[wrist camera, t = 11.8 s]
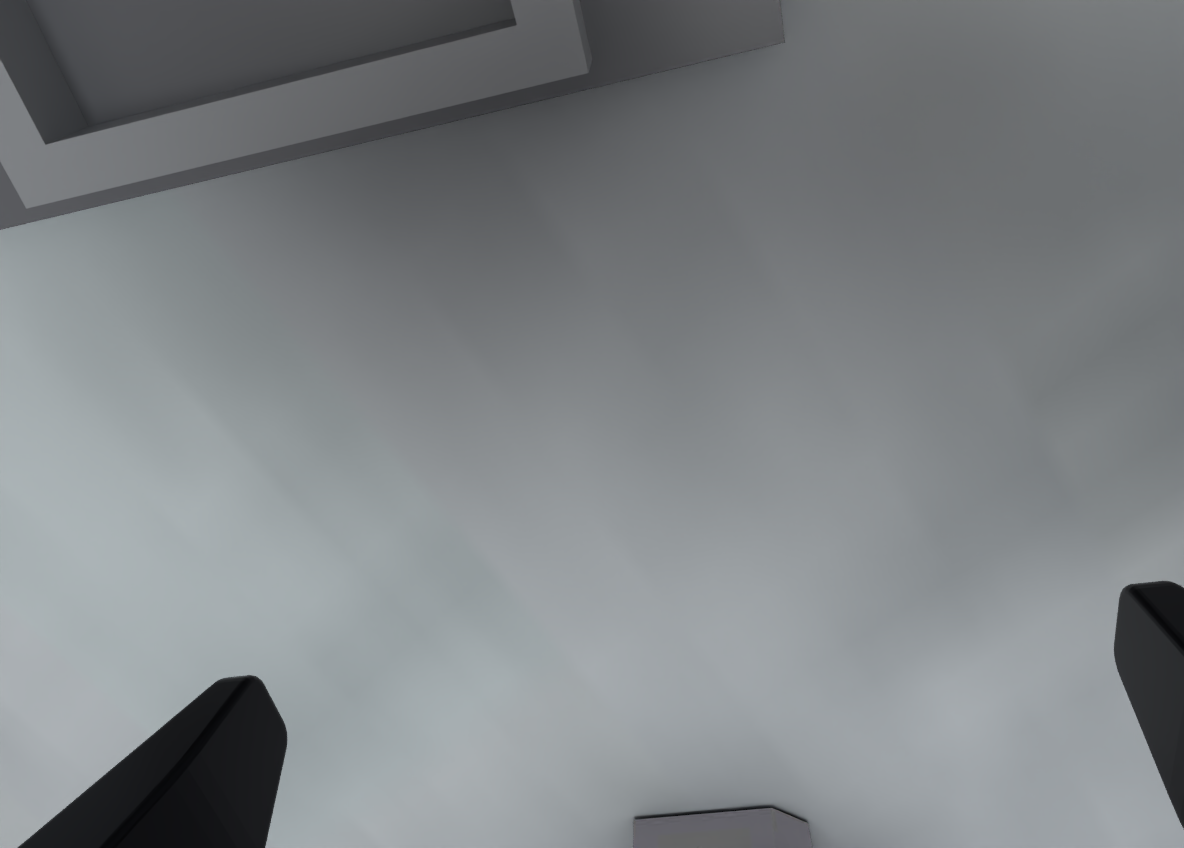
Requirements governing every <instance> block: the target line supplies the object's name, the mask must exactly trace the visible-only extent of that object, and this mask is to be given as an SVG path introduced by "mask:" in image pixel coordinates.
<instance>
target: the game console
mask: <svg viewBox="0 0 1184 848" xmlns="http://www.w3.org/2000/svg"><path fill="white" fill-rule="evenodd" d="M633 848H812V842H811V837H810V831H809V826H808V823H806V822H804V821H802V820H799V819H797V818H794V817H792V816H790V815H787V814H785V813H783V812H780V811H778V810H776V809H773V808H764V809H753V810H741V811H730V812H718V813H707V814H695V815H684V816H672V817H660V818H649V819H637V820H634V840H633Z"/></svg>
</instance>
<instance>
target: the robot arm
mask: <svg viewBox="0 0 1184 848" xmlns="http://www.w3.org/2000/svg"><path fill="white" fill-rule="evenodd" d="M1114 656H1115V662H1116V666H1117V669H1118V672H1119V675H1120V677H1121V680H1122V682H1123V685H1124V687H1125V690H1126V692H1127V695H1128V697H1129V700H1130V702H1131V704H1132V707H1133V709H1134V712H1135V714H1136V717H1137V719H1138V722H1139V724H1140V727H1141V729H1142V731H1143V734H1144V736H1145V739H1146V741H1147V744H1148V746H1149V749H1150V751H1151V754H1152V756H1153V759H1154V761H1155V763H1156V766H1157V768H1158V771H1159V773H1160V776H1161V778H1162V781H1163V783H1164V786H1165V788H1166V790H1167V793H1168V795H1169V798H1170V800H1171V802H1172V805H1173V807H1174V809H1175V811H1176V814H1177V816H1178V818H1179V821H1180V823H1181V825H1182V826H1183V828H1184V588H1183V587H1182V586H1180V585H1178V584H1176V583H1173V582H1170V581H1158V582H1148V583H1138V584H1130V585H1128V586H1126V587H1124V588H1123V590H1122V592H1121V594H1120V598H1119V606H1118V615H1117V624H1116V633H1115V642H1114ZM286 748H287V731H286V727H285V724H284V721H283V719H282V717H281V716H280V714H279V712H278V710H277V708H276V706H275V704H274V702H273V700H272V698H271V697H270V695H269V693H268V691H267V689H266V687H265V685H264V683H263V682H262V680H260V679H259V678H258V677H256V676H252V675H247V676H237V677H228V678H223V679H220V680H218V681H217V682H215V683H214V684H213V685H211V686H210V687H209V688H208V689H207V690H205V691H204V692H203V693H202V694H201V695H200V696H198V697H197V698H196V699H195V700H194V701H192V702H191V703H190V704H189V705H188V706H186V707H185V708H184V709H183V710H182V711H180V712H179V713H178V714H177V715H176V716H174V717H173V718H172V719H171V720H170V721H168V722H167V723H166V724H165V725H164V726H163V727H161V728H160V729H159V730H158V731H157V732H155V733H154V734H153V735H152V736H151V737H149V738H148V739H147V740H146V741H145V742H143V743H142V744H141V745H140V746H139V747H137V748H136V749H135V750H134V751H133V752H131V753H130V754H129V755H128V756H127V757H125V758H124V759H123V760H122V761H121V762H119V763H118V764H117V765H116V766H115V767H114V768H112V769H111V770H110V771H109V772H108V773H106V774H105V775H104V776H103V777H102V778H100V779H99V780H98V781H97V782H96V783H94V784H93V785H92V786H91V787H90V788H88V789H87V790H86V791H85V792H84V793H82V794H81V795H80V796H79V797H78V798H76V799H75V800H74V801H73V802H72V803H70V804H69V805H68V806H67V807H66V808H65V809H63V810H62V811H61V812H60V813H59V814H57V815H56V816H55V817H54V818H53V819H51V820H50V821H49V822H48V823H47V824H45V825H44V826H43V827H42V828H41V829H39V830H38V831H37V832H36V833H35V834H33V835H32V836H31V837H30V838H29V839H27V840H26V841H25V842H24V843H23V844H21V845H20V846H19V847H18V848H265V846H266V841H267V837H268V832H269V827H270V823H271V818H272V813H273V809H274V804H275V799H276V795H277V790H278V785H279V781H280V776H281V771H282V767H283V762H284V757H285V753H286Z"/></svg>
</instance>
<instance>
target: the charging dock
mask: <svg viewBox="0 0 1184 848" xmlns="http://www.w3.org/2000/svg"><path fill="white" fill-rule="evenodd" d="M784 42H785V40H784V31H783V23H782V15H781V6H780V0H0V230H1V229H5V228H9V227H13V226H18V225H22V224H26V223H30V222H34V221H38V220H43V219H47V218H51V217H55V216H59V215H64V214H68V213H72V212H76V211H80V210H85V209H89V208H93V207H97V206H101V205H106V204H110V203H114V202H118V201H122V200H126V199H131V198H135V197H139V196H143V195H147V194H152V193H156V192H160V191H164V190H168V189H173V188H177V187H181V186H185V185H189V184H194V183H198V182H202V181H206V180H210V179H214V178H219V177H223V176H227V175H231V174H235V173H240V172H244V171H248V170H252V169H256V168H261V167H265V166H269V165H273V164H277V163H282V162H286V161H290V160H294V159H298V158H302V157H307V156H311V155H315V154H319V153H323V152H328V151H332V150H336V149H340V148H344V147H349V146H353V145H357V144H361V143H365V142H370V141H374V140H378V139H382V138H386V137H390V136H395V135H399V134H403V133H407V132H411V131H416V130H420V129H424V128H428V127H432V126H437V125H441V124H445V123H449V122H453V121H458V120H462V119H466V118H470V117H474V116H478V115H483V114H487V113H491V112H495V111H499V110H504V109H508V108H512V107H516V106H520V105H525V104H529V103H533V102H537V101H541V100H546V99H550V98H554V97H558V96H562V95H566V94H571V93H575V92H579V91H583V90H587V89H592V88H596V87H600V86H604V85H608V84H613V83H617V82H621V81H625V80H629V79H634V78H638V77H642V76H646V75H650V74H654V73H659V72H663V71H667V70H671V69H675V68H680V67H684V66H688V65H692V64H696V63H701V62H705V61H709V60H713V59H717V58H722V57H726V56H730V55H734V54H738V53H742V52H747V51H751V50H755V49H759V48H763V47H768V46H772V45H776V44H780V43H784Z"/></svg>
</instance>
